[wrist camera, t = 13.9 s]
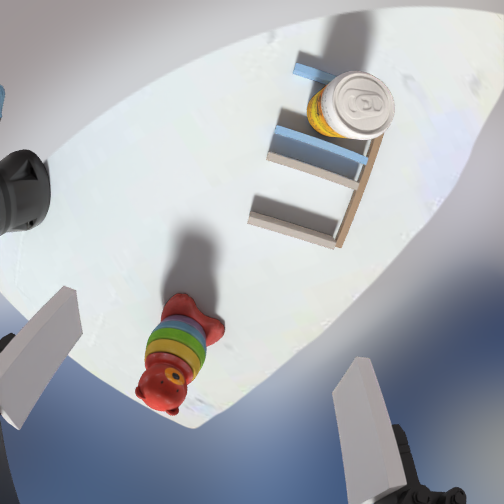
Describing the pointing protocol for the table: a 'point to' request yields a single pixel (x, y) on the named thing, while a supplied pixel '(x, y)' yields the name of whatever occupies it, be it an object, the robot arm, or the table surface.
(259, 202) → the table surface
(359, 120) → the beer can
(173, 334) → the stacking bear
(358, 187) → the rack
